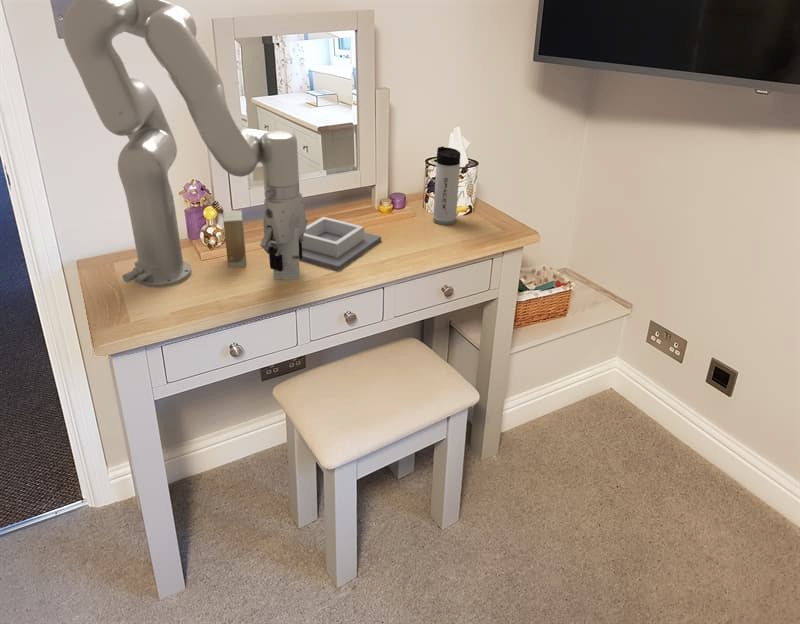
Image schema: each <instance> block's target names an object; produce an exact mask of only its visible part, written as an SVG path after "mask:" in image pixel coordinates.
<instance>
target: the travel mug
mask: <svg viewBox="0 0 800 624" xmlns="http://www.w3.org/2000/svg"><path fill="white" fill-rule="evenodd" d="M435 161H436V162H435V163H436V164H435V179H434V181H435V182H434V198H433V216H432V220H433V222H434V223H436V224H438V225H441V226H442V225H443V226H448V225H449V226H450V225H453V224H455V223H456V221H457V210H458V209H457V208H458V198H459V197H458V196H459V194H458V193H459V181H460V167H461V166H460V165H461V152H460V151H459V150H458V149H456V148H452V147H445V146H439V147H437V150H436V160H435Z"/></svg>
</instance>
